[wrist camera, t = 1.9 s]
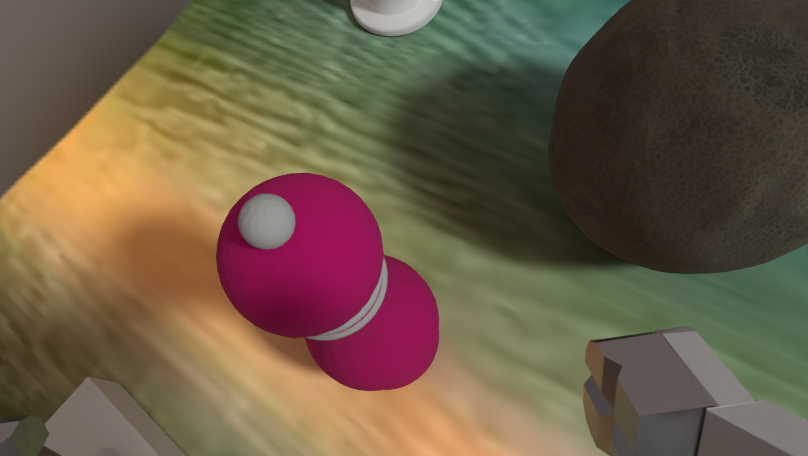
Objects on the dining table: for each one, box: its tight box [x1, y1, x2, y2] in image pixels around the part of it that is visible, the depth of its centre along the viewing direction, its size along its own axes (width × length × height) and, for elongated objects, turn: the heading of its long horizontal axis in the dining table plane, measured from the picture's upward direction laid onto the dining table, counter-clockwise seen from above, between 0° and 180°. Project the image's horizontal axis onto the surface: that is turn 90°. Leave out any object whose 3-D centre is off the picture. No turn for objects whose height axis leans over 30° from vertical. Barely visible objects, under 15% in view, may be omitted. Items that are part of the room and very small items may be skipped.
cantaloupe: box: [549, 0, 808, 274], centre depth 30 cm, size 14×14×15 cm
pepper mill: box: [216, 173, 439, 391], centre depth 28 cm, size 7×7×20 cm
